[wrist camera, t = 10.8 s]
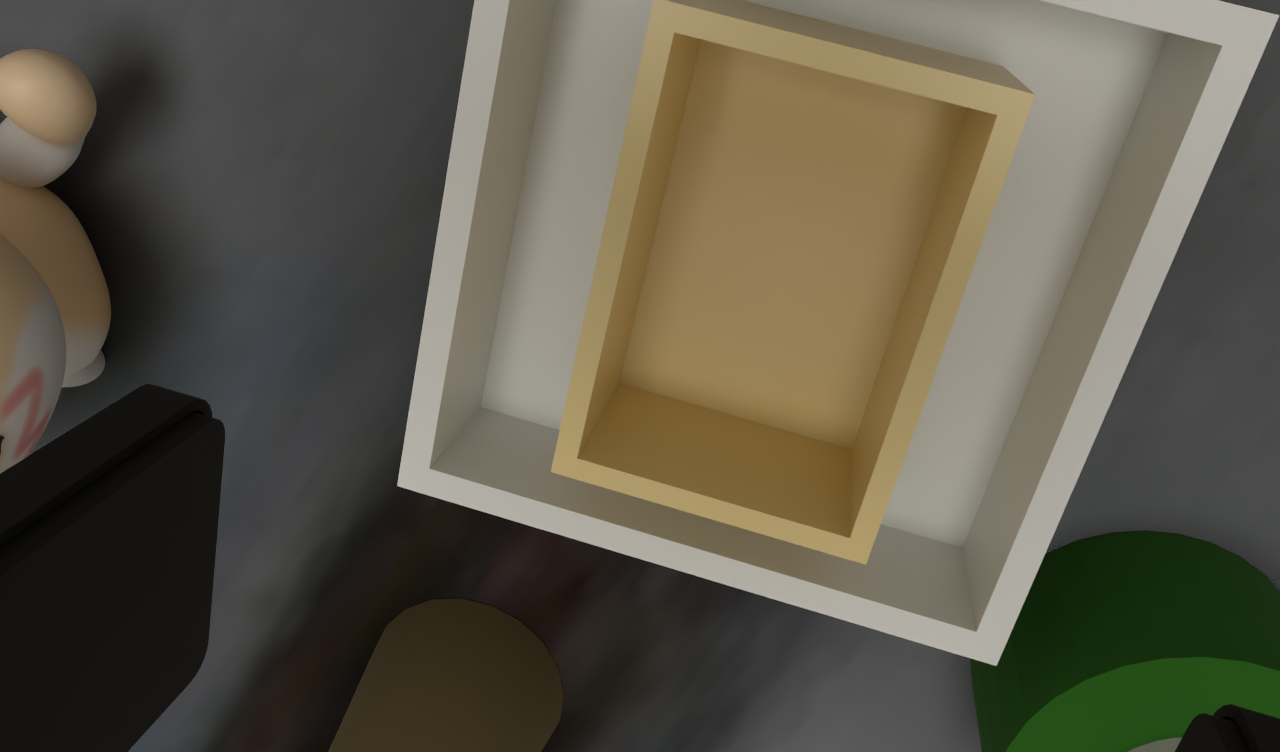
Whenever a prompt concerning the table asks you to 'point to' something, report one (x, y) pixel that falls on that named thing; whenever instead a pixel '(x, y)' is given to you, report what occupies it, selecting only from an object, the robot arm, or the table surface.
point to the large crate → (978, 340)
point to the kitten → (43, 249)
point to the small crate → (782, 267)
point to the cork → (454, 685)
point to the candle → (1130, 647)
